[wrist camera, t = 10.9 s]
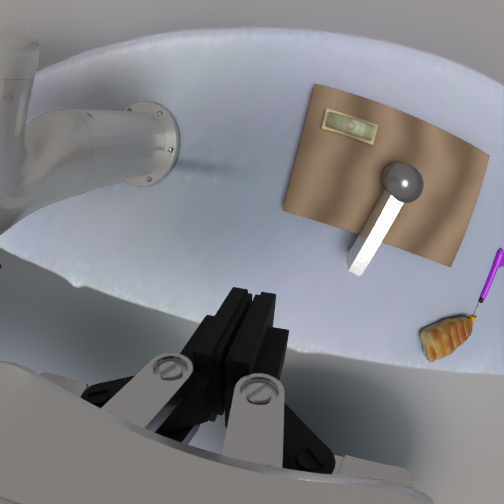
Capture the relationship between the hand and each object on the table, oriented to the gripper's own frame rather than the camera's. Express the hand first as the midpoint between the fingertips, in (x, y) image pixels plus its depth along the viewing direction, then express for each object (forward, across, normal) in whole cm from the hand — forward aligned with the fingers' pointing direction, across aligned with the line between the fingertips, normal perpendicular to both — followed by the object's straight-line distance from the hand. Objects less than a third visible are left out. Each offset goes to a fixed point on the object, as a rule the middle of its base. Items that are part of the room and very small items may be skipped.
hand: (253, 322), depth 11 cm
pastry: (+27, -25, +18) cm, 41 cm away
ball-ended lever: (+25, -9, 0) cm, 26 cm away
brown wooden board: (+27, -11, -4) cm, 30 cm away
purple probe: (+28, -31, +10) cm, 43 cm away
